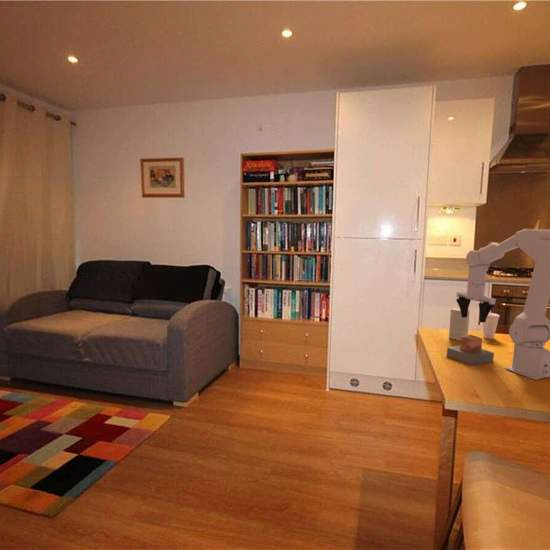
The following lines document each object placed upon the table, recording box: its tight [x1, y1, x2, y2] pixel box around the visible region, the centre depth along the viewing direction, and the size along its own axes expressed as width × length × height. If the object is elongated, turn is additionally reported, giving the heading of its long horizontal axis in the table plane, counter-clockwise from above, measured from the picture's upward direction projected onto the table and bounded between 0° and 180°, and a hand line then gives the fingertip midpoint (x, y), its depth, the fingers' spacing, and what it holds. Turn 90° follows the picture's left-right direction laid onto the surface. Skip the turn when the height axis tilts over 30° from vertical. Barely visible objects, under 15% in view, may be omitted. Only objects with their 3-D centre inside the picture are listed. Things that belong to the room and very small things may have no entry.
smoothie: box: [482, 310, 501, 340], centre depth 151 cm, size 6×6×14 cm
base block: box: [446, 344, 495, 366], centre depth 126 cm, size 10×10×3 cm
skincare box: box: [448, 307, 470, 341], centre depth 149 cm, size 6×4×12 cm
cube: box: [460, 334, 483, 353], centre depth 126 cm, size 4×4×4 cm
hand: (473, 319), depth 138 cm, fingers open, 7 cm apart
